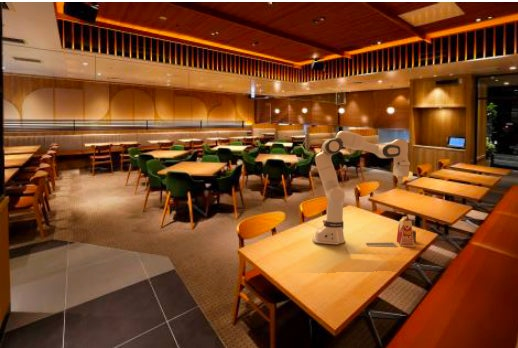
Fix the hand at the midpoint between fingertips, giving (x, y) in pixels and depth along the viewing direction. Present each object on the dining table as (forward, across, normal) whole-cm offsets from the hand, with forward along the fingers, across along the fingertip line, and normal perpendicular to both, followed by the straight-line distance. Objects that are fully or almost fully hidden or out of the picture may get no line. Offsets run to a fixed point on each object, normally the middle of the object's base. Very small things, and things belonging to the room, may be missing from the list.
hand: (400, 182), depth 197 cm
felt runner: (+42, +7, -15) cm, 45 cm away
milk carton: (+42, +5, +2) cm, 43 cm away
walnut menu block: (+42, -1, +9) cm, 43 cm away
